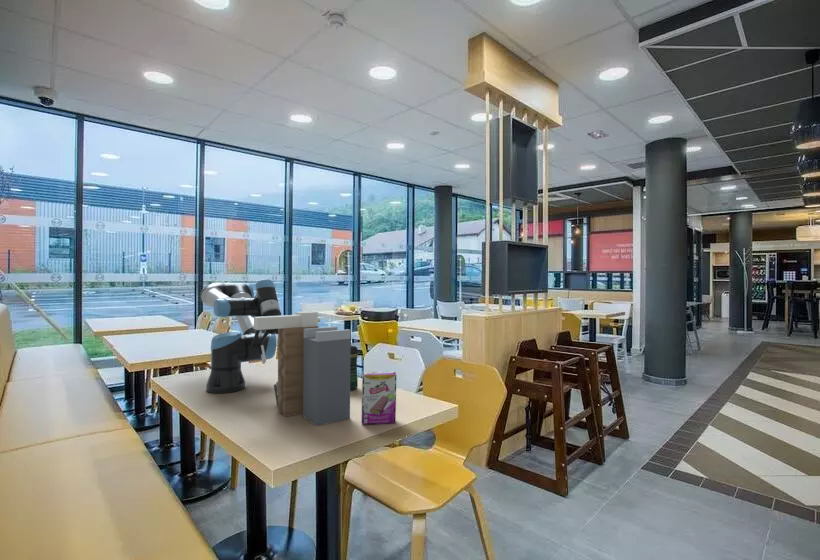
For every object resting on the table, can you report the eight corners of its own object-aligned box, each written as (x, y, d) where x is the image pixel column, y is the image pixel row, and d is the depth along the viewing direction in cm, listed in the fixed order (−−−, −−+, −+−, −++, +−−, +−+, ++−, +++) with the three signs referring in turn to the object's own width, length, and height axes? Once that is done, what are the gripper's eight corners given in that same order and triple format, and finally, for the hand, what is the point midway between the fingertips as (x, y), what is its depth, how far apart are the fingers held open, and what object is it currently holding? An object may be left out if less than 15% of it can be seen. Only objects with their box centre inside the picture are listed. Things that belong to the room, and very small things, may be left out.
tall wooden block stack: (277, 411, 151) (278, 326, 151) (309, 405, 159) (310, 324, 158) (284, 416, 146) (285, 328, 145) (317, 410, 153) (318, 326, 153)
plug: (252, 328, 145) (252, 313, 145) (314, 324, 159) (314, 310, 159) (258, 330, 140) (258, 315, 140) (321, 326, 154) (321, 312, 154)
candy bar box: (361, 425, 138) (362, 374, 138) (361, 420, 143) (361, 371, 143) (396, 424, 140) (396, 373, 139) (394, 418, 145) (394, 370, 144)
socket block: (303, 416, 146) (303, 328, 146) (334, 410, 153) (335, 326, 153) (316, 425, 137) (317, 332, 137) (349, 418, 144) (350, 329, 144)
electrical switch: (280, 408, 155) (279, 382, 156) (272, 406, 159) (271, 381, 159) (302, 402, 163) (300, 377, 163) (293, 401, 166) (292, 376, 166)
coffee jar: (360, 388, 183) (361, 345, 183) (345, 392, 177) (346, 347, 177) (347, 384, 190) (347, 342, 190) (332, 387, 184) (332, 344, 184)
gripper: (241, 309, 165) (251, 359, 156) (303, 307, 180) (315, 352, 171) (237, 319, 170) (246, 368, 160) (297, 316, 185) (309, 360, 175)
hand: (282, 360), depth 165 cm, fingers open, 13 cm apart
